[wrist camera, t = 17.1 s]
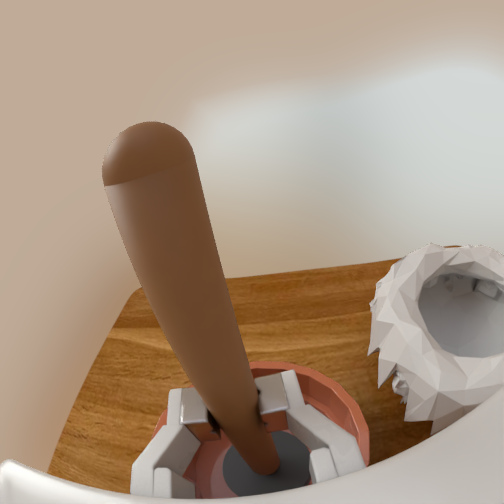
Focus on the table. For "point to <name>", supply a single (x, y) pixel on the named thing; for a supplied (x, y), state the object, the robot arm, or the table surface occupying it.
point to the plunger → (195, 299)
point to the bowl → (441, 330)
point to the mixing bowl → (314, 393)
